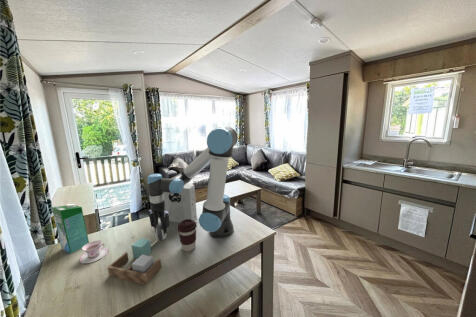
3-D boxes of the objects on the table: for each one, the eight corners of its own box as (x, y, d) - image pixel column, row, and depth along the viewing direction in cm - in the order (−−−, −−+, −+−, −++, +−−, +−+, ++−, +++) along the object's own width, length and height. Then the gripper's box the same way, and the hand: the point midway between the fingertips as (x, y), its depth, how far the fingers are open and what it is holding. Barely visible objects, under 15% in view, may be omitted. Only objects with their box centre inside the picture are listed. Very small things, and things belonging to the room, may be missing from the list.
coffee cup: (201, 243, 106) (199, 218, 103) (191, 255, 97) (189, 228, 94) (186, 240, 109) (184, 216, 106) (175, 251, 100) (172, 225, 97)
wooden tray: (161, 267, 89) (160, 258, 89) (146, 284, 80) (145, 275, 79) (127, 260, 95) (125, 252, 94) (109, 275, 85) (107, 267, 84)
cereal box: (197, 218, 134) (194, 184, 129) (192, 223, 126) (189, 188, 121) (169, 215, 139) (166, 183, 134) (163, 220, 131) (159, 186, 126)
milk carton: (89, 243, 108) (81, 203, 103) (70, 253, 100) (60, 210, 95) (80, 239, 112) (72, 200, 107) (61, 249, 104) (51, 207, 99)
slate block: (154, 269, 88) (152, 256, 87) (145, 280, 82) (143, 266, 81) (143, 267, 90) (141, 254, 88) (134, 277, 84) (131, 263, 83)
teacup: (76, 267, 91) (74, 256, 90) (83, 252, 101) (81, 242, 100) (106, 258, 96) (104, 248, 95) (109, 245, 107) (108, 235, 105)
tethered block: (166, 237, 112) (165, 223, 110) (142, 259, 95) (140, 243, 93) (158, 236, 114) (156, 222, 112) (133, 257, 96) (130, 241, 95)
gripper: (173, 199, 109) (177, 235, 114) (149, 197, 113) (154, 232, 118) (165, 205, 102) (169, 243, 107) (140, 202, 106) (145, 239, 111)
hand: (161, 237), depth 112 cm, fingers closed on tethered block, 3 cm apart
